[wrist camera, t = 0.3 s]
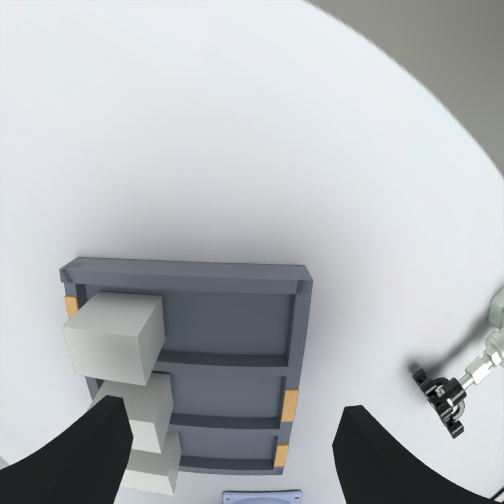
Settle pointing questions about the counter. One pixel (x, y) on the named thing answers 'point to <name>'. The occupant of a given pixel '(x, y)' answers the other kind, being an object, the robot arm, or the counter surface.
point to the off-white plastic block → (116, 337)
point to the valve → (453, 392)
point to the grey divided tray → (217, 352)
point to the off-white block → (144, 409)
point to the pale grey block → (154, 467)
